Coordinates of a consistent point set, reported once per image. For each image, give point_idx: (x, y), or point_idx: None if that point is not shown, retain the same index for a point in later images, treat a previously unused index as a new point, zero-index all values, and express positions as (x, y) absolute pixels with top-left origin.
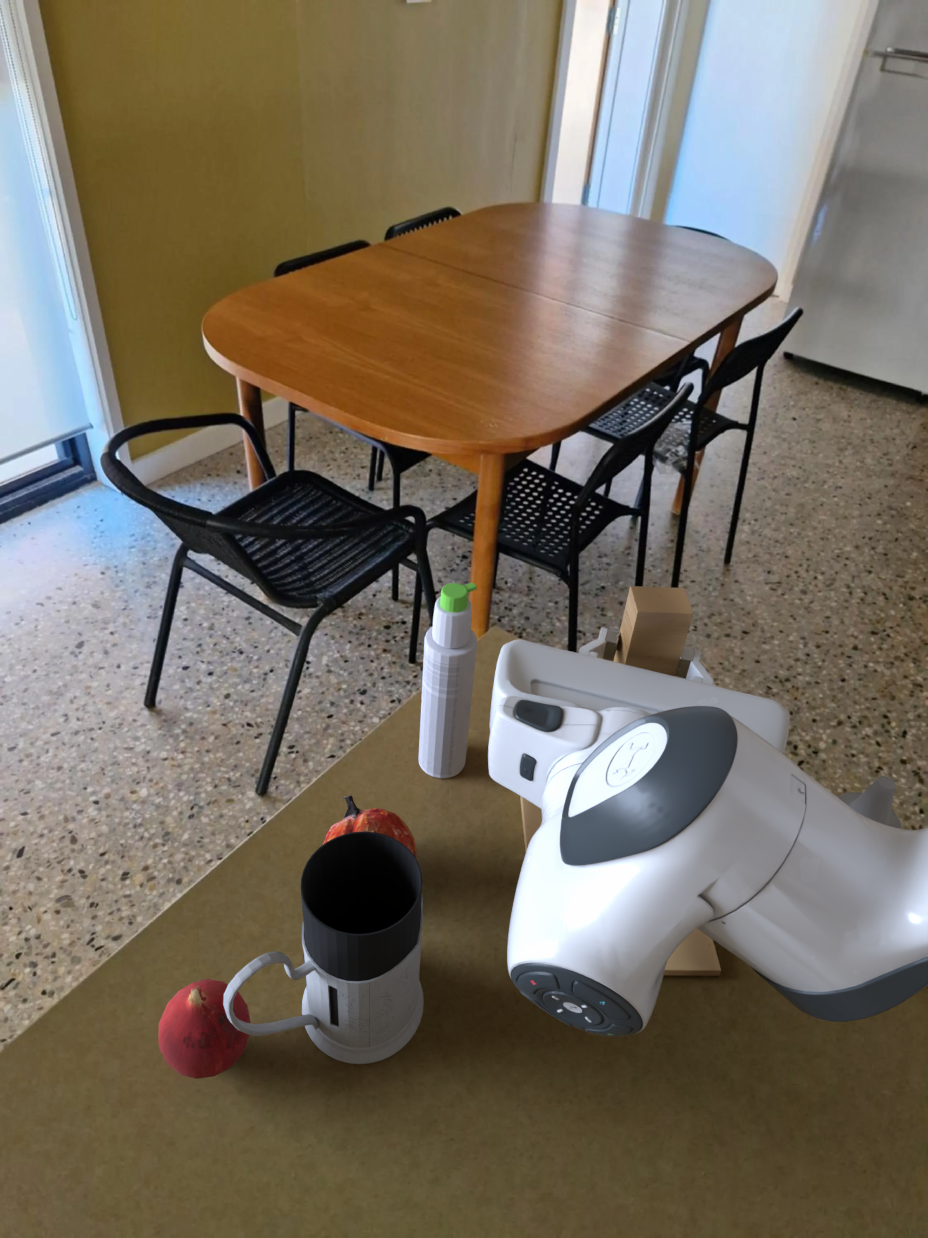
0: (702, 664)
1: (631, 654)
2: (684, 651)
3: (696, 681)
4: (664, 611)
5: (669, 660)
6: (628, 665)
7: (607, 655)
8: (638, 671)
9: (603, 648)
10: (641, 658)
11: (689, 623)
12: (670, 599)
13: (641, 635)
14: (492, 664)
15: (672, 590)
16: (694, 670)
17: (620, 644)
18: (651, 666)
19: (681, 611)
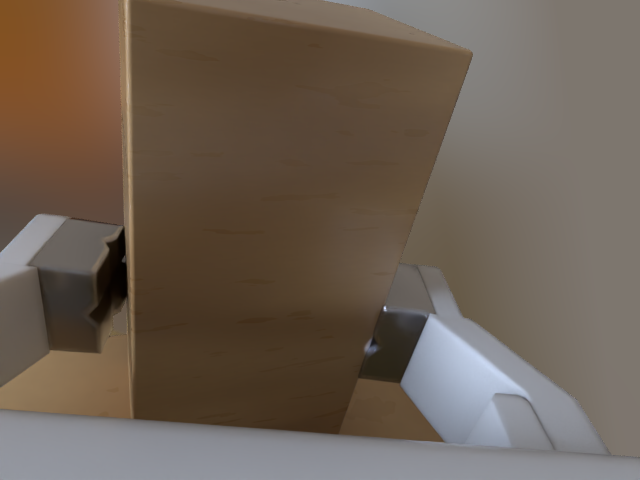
0: None
1: (157, 320)
2: None
3: (519, 429)
4: (320, 25)
5: (341, 322)
6: (98, 421)
7: (67, 332)
8: (172, 474)
9: (28, 304)
10: (214, 333)
11: (446, 119)
12: (332, 11)
13: (193, 203)
14: None
15: (327, 4)
16: (456, 355)
17: (126, 277)
18: (266, 360)
19: (411, 38)
